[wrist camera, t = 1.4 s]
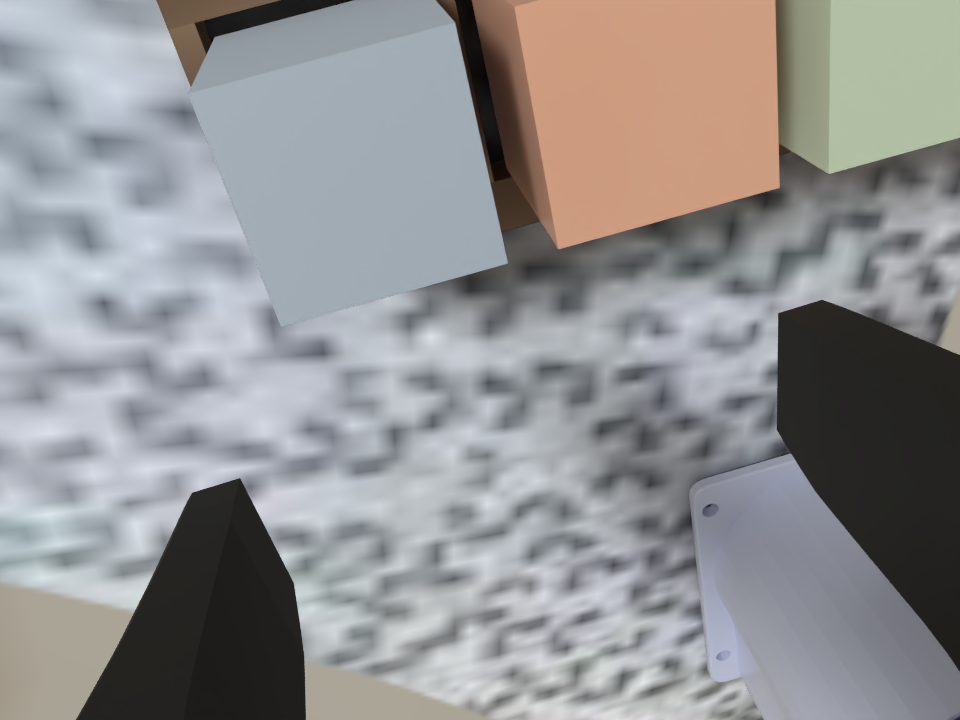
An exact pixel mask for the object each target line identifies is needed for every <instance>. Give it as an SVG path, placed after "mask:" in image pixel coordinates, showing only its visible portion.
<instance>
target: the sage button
mask: <svg viewBox="0 0 960 720" xmlns="http://www.w3.org/2000/svg"><path fill="white" fill-rule="evenodd" d="M775 8H776V52H777V95H778V139H779V144H781V145H782V146H784V147H786V148H787V149H789V150H790V151H792V152H794V153H795V154H797V155H799V156H800V157H802V158H803V159H805V160H807V161H808V162H810V163H812V164H813V165H815V166H816V167H818V168H820V169H821V170H823V171H825V172H826V173H828V174H831V173H835V172H838V171H842V170H846V169H849V168H853V167H856V166H860V165H863V164H867V163H871V162H874V161H878V160H881V159H885V158H889V157H892V156H896V155H899V154H903V153H907V152H910V151H914V150H917V149H921V148H924V147H928V146H932V145H935V144H939V143H942V142H946V141H950V140H953V139H957V138H960V0H775Z"/></svg>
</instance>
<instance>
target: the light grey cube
mask: <svg viewBox="0 0 960 720" xmlns="http://www.w3.org/2000/svg"><path fill="white" fill-rule="evenodd" d="M188 95H189V98H190V100H191V103H192V105H193V108H194V110H195V113H196V115H197V118H198V120H199V123H200V125H201V128H202V130H203V133H204V135H205V138H206V140H207V143H208V145H209V148H210V150H211V153H212V155H213V158H214V160H215V163H216V165H217V168H218V170H219V173H220V175H221V178H222V180H223V183H224V185H225V188H226V190H227V193H228V195H229V198H230V200H231V203H232V205H233V208H234V210H235V213H236V215H237V218H238V220H239V223H240V225H241V228H242V230H243V233H244V235H245V238H246V240H247V243H248V245H249V248H250V250H251V253H252V255H253V258H254V260H255V263H256V265H257V268H258V270H259V273H260V275H261V278H262V280H263V283H264V285H265V288H266V290H267V293H268V295H269V298H270V300H271V302H272V305H273V307H274V310H275V312H276V315H277V317H278V320H279V322H280V325H281V327H282V326H286V325H289V324H293V323H296V322H300V321H304V320H307V319H311V318H314V317H318V316H321V315H325V314H329V313H332V312H336V311H339V310H343V309H347V308H350V307H354V306H357V305H361V304H365V303H368V302H372V301H375V300H379V299H382V298H386V297H390V296H393V295H397V294H400V293H404V292H408V291H411V290H415V289H418V288H422V287H426V286H429V285H433V284H436V283H440V282H443V281H447V280H451V279H454V278H458V277H461V276H465V275H469V274H472V273H476V272H479V271H483V270H487V269H490V268H494V267H497V266H501V265H505V264H508V261H507V257H506V252H505V248H504V243H503V238H502V234H501V229H500V225H499V220H498V216H497V211H496V207H495V202H494V197H493V193H492V188H491V184H490V179H489V175H488V170H487V166H486V161H485V157H484V152H483V147H482V143H481V138H480V134H479V129H478V125H477V120H476V116H475V111H474V106H473V102H472V97H471V93H470V88H469V84H468V79H467V75H466V70H465V65H464V61H463V56H462V52H461V47H460V43H459V38H458V34H457V29H456V24H455V22H454V21H453V20H452V18H451V17H450V16H449V15H448V14H447V13H446V12H445V11H444V9H443V8H442V7H441V6H440V5H439V4H438V3H437V1H436V0H353V1H349V2H346V3H342V4H338V5H334V6H330V7H327V8H323V9H319V10H315V11H312V12H308V13H304V14H300V15H296V16H293V17H289V18H285V19H281V20H278V21H274V22H270V23H266V24H263V25H259V26H255V27H251V28H247V29H244V30H240V31H236V32H232V33H229V34H225V35H221V36H217V37H215V38H214V40H213V42H212V44H211V46H210V48H209V50H208V53H207V55H206V57H205V59H204V61H203V63H202V65H201V67H200V69H199V72H198V74H197V76H196V78H195V80H194V82H193V84H192V86H191V88H190V91H189V93H188Z"/></svg>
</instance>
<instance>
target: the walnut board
mask: <svg viewBox="0 0 960 720" xmlns="http://www.w3.org/2000/svg"><path fill="white" fill-rule="evenodd" d="M275 1H279V0H157V3H158V5H159V8H160V10H161V13H162V15H163V18H164V20H165V23H166V25H167V28H168V30H169V33H170V35H171V38H172V40H173V43H174V46H175V48H176V51H177V53H178V56H179V58H180V61H181V63H182V66H183V68H184V71H185V73H186V76H187V78H188V81H189V83H190V86H192V84H193V82H194V80H195V78H196V76H197V74H198V72H199V69H200V67H201V65H202V63H203V61H204V59H205V57H206V55H207V53H208V50H209V48H210V46H211V44H212V41H211V39H210V36H209V33H208V31H207V28H206V25H205V23H204V20H207V19H211V18H215V17H219V16H222V15H226V14H230V13H234V12H238V11H241V10H245V9H249V8H253V7H256V6H260V5H264V4H268V3H272V2H275ZM436 1H437V3H438V4H439V5H440V6H441V7H442V8H443V9H444V11H445V12H446V13H447V14H448V15H449V16H450V17H451V18H452V20H453V21H454V22H455V24H456V29H457V34H458V38H459V43H460V47H461V52H462V56H463V61H464V65H465V70H466V75H467V79H468V84H469V88H470V93H471V97H472V102H473V106H474V111H475V116H476V120H477V125H478V129H479V134H480V138H481V143H482V147H483V152H484V157H485V161H486V166H487V170H488V175H489V179H490V184H491V188H492V193H493V197H494V202H495V207H496V211H497V216H498V220H499V225H500V229H501V232H504V231H507V230H511V229H514V228H518V227H522V226H525V225H529V224H532V223H536V222H540V220H539V218H538V217H537V215H536V214H535V212H534V210H533V209H532V207H531V206H530V204H529V203H528V201H527V200H526V198H525V196H524V195H523V193H522V192H521V190H520V189H519V187H518V185H517V184H516V182H515V181H514V179H513V178H512V176H511V174H510V173H509V171H508V170H507V168H506V163H505V159H503V160H500V161H496V162H492V163H490V160H489V155H488V151H487V146H486V142H485V137H484V132H483V128H482V123H481V119H480V114H479V109H478V105H477V100H476V95H475V91H474V86H473V82H472V77H471V72H470V68H469V63H468V59H467V54H466V49H465V45H464V40H463V35H462V31H461V26H460V22H459V17H458V12H457V8H456V3H455V0H436ZM789 152H792V151H790V150H789V149H787V148H786V147H784V146H782V145H781V144H779V155H781V154H785V153H789Z"/></svg>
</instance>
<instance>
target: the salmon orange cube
mask: <svg viewBox="0 0 960 720" xmlns="http://www.w3.org/2000/svg"><path fill="white" fill-rule="evenodd" d="M472 3H473V8H474V13H475V18H476V23H477V27H478V32H479V37H480V42H481V47H482V52H483V57H484V61H485V66H486V71H487V76H488V81H489V86H490V90H491V95H492V100H493V105H494V110H495V115H496V120H497V124H498V129H499V134H500V139H501V144H502V149H503V153H504V158H505V163H506V168H507V170H508V171H509V173H510V174H511V176H512V178H513V179H514V181H515V182H516V184H517V185H518V187H519V189H520V190H521V192H522V193H523V195H524V196H525V198H526V200H527V201H528V203H529V204H530V206H531V207H532V209H533V210H534V212H535V214H536V215H537V217H538V218H539V220H540V221H541V223H542V225H543V226H544V228H545V229H546V231H547V232H548V234H549V236H550V237H551V239H552V240H553V242H554V243H555V245H556V247H557V248H558V249H562V248H566V247H569V246H573V245H576V244H580V243H583V242H587V241H591V240H594V239H598V238H601V237H605V236H609V235H612V234H616V233H619V232H623V231H627V230H630V229H634V228H637V227H641V226H644V225H648V224H652V223H655V222H659V221H662V220H666V219H670V218H673V217H677V216H680V215H684V214H688V213H691V212H695V211H698V210H702V209H706V208H709V207H713V206H716V205H720V204H723V203H727V202H731V201H734V200H738V199H741V198H745V197H749V196H752V195H756V194H759V193H763V192H767V191H770V190H774V189H777V188H780V182H779V139H778V95H777V52H776V8H775V0H472Z"/></svg>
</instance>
